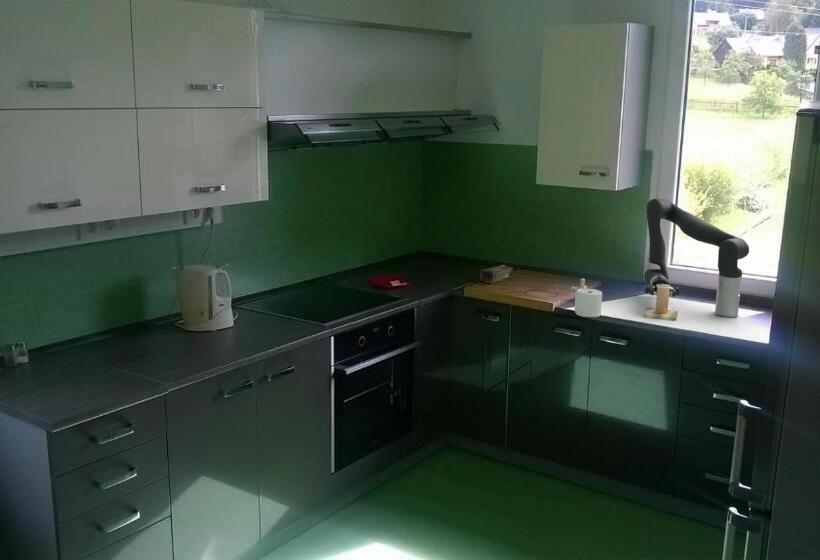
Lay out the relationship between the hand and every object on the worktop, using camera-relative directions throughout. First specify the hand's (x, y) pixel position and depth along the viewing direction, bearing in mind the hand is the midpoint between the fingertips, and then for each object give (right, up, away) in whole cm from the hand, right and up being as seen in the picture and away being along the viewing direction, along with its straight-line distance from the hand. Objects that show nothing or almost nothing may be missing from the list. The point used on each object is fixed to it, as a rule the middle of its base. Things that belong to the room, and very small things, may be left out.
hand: (663, 293), depth 346 cm
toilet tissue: (-32, -9, +4) cm, 33 cm away
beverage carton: (-65, +5, +63) cm, 90 cm away
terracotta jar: (0, -8, +3) cm, 9 cm away
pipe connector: (-29, -4, +26) cm, 39 cm away
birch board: (0, -9, +3) cm, 10 cm away
